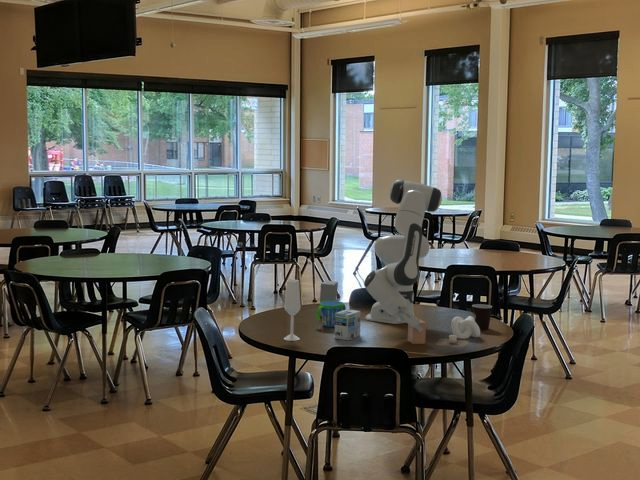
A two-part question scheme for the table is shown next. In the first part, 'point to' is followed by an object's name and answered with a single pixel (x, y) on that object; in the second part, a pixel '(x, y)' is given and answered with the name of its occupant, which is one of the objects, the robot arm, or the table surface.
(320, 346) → the table surface
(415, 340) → the pink juice box
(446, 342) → the board
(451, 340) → the small white block
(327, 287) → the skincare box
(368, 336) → the table surface
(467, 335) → the white lumpy piece
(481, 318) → the coffee mug
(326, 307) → the snack cup
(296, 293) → the champagne flute
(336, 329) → the light bulb box
